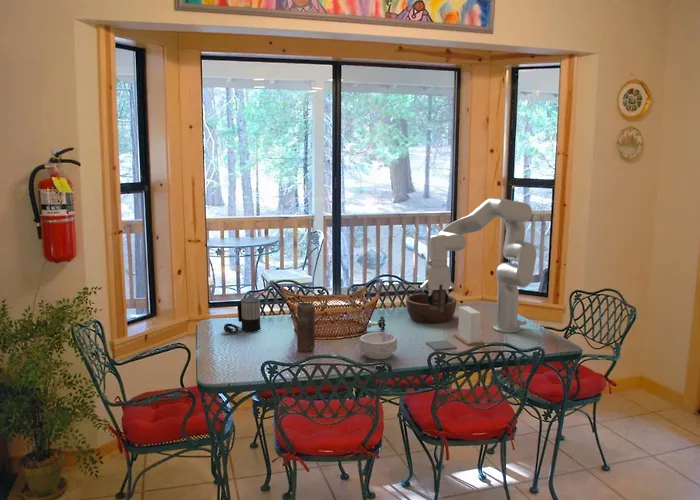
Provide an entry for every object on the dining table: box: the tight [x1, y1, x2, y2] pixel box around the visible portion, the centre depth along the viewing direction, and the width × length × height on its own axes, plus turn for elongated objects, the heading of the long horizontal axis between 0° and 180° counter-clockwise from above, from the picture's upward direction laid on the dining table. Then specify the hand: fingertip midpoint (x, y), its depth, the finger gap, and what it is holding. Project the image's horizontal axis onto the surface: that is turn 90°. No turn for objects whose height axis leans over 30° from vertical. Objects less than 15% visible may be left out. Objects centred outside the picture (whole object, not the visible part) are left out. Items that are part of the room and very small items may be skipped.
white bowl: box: [359, 331, 398, 360], centre depth 245 cm, size 15×15×8 cm
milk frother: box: [223, 296, 262, 335], centre depth 278 cm, size 14×16×15 cm
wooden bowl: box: [405, 292, 457, 325], centre depth 301 cm, size 25×25×10 cm
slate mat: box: [425, 339, 457, 351], centre depth 258 cm, size 10×10×1 cm
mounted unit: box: [453, 305, 485, 347], centre depth 265 cm, size 8×14×14 cm, turn 15°
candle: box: [296, 301, 316, 353], centre depth 251 cm, size 8×7×20 cm
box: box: [429, 285, 446, 312], centre depth 259 cm, size 6×4×12 cm
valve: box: [367, 316, 386, 331], centre depth 280 cm, size 7×7×12 cm
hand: (437, 303), depth 260 cm, fingers closed on box, 6 cm apart
